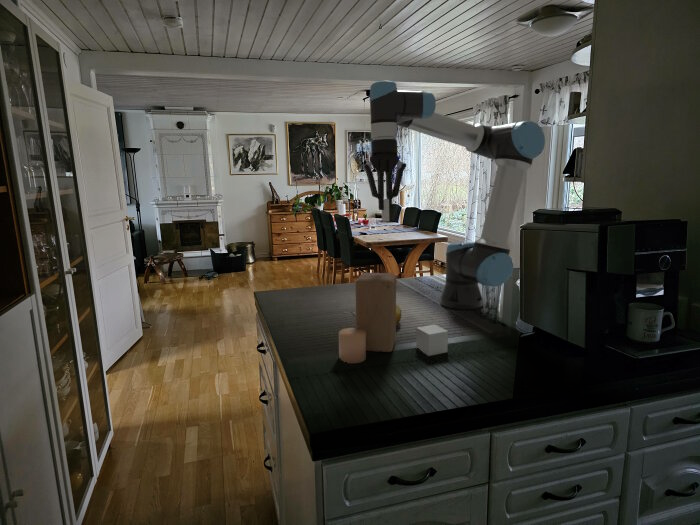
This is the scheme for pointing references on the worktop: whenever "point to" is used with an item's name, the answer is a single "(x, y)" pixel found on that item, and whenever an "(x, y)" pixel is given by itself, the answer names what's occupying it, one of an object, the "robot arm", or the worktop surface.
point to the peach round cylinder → (352, 345)
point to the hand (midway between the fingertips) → (385, 220)
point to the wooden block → (377, 310)
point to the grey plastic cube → (432, 339)
